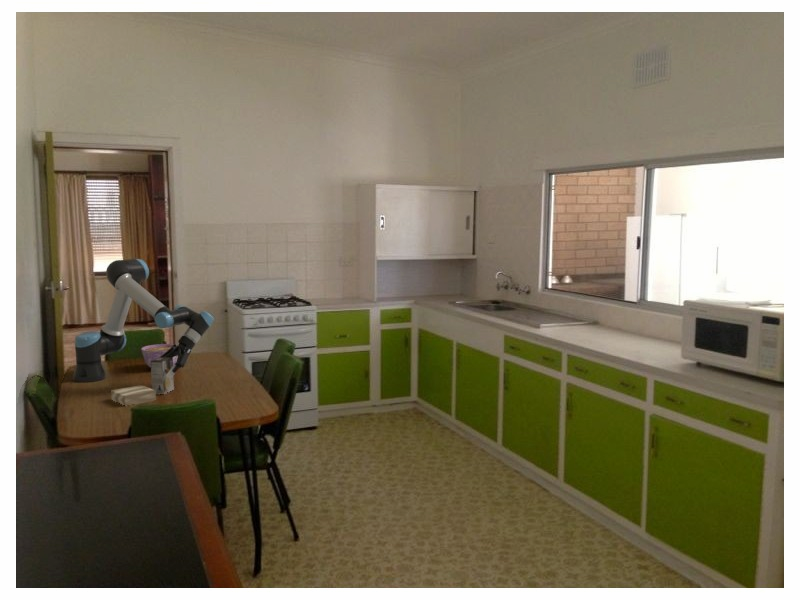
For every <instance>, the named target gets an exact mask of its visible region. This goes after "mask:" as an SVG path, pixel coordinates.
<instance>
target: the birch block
mask: <svg viewBox="0 0 800 600" xmlns="http://www.w3.org/2000/svg"><path fill="white" fill-rule="evenodd" d="M110 396H111V398H110V399H111V401H112V400H113V401H112V402H114V401H115V402H114V403H116V402H118V403H117V404H119V403H120V404H119V405H121V404H122V405H121V406H123V405H125V406H126V407H128V406H127V405H130V406H133V405H132V404H135V405H139V404H143V403H144V404H145V403H149V402H154V400H155V401H156V400H157V397H156V396H157V394H155V390H153V389H152V387H151V388H150V387H148V386H145V385H142V384H139V385H133V386H128V387H127V386H126V387H122V388H115V389H111V390H110ZM125 406H124V407H125Z"/></svg>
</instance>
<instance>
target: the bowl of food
mask: <svg viewBox="0 0 800 600" xmlns="http://www.w3.org/2000/svg"><path fill="white" fill-rule="evenodd" d="M174 344H175V343H174ZM174 344H173V343H161V344H160V343H158V344H151V345H145V346H143V347H141V349H140V350H141V353H142V356H143V360H144V362H145V364H146V365H147V366H148V367H149V368H151V361H152V360H154V359H157V358H160V356H162V355H163V354H164V353H165V352H167V351H168V350H169V349H170V348H171V347H172V346H173V345H174ZM176 345H177V346H178V345H179V344H176ZM177 358H178V356H174V357H173V366H174V365H175V363H176V362H177Z"/></svg>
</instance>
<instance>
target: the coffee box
mask: <svg viewBox="0 0 800 600" xmlns="http://www.w3.org/2000/svg"><path fill="white" fill-rule="evenodd" d="M173 366H174V365H173V357H160V358H157V359H154V360H152V361H151V367H150V375H151V377H150V378H151V389H153V390H155V394H156V395H160V394H164V395H166V394H168V393H170V391H171V392H172V390H173V391H174V390H175V382H174V381H175V380H174V377H175V376H174V375H173V376H172V378H171V379H169V378H168V377H166V374H167V373H168V372H169V371H170V369H171V368H172V367H173ZM167 392H168V393H167Z"/></svg>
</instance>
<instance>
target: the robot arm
mask: <svg viewBox="0 0 800 600" xmlns="http://www.w3.org/2000/svg"><path fill="white" fill-rule="evenodd" d="M149 269H150V268H149V267H148V264H147V262H145V261H144V260H143V259H141V258H130V259H116V260H114V261H112V262H111V263H109V264H108V265H107V267H106V269H105V270H106V271H105V275H106V279H107V281H108V282H109V283H110V284H111V286H113V287H114V288H115V289H116V290H115V294H114V297H113V300H112V303H111V306H110V310H109V312H108V316H107V319H106V322H105V324H103V325H102V326H100V331H94V330H93V331H85V332H82V333H80V334H79V333H78V334H77V335H76V336H75V339H74V348H75V349H74V350H75V363H76V364H75V368H74V371H73V375H72V380H73V381H74V382H76V383H77V382H78V383H92V382H98V381H102V380H105V379H106V378H107V374H106V373H107V372H106V370H105V368H104V365H103V364H102V356H105V355H110V354H114V353H115V354H116V353H117V352H120V351H121V350H123V349H124V347H125V346H126V344H127V336H126V334H125V333H126V332H125V330H124V325H125V323H126V320H127V316H128V315H129V311H130V306H131V305H132V302H133V301H134V302H135V303H136V304H137V305H138V306H139V307H141V308H142V309H143V310H144V311H145V312H147V314H149V315H150V316H152V317H153V318H154V323H155V325H156V327H158V328H159V329H167V328H172V327H175V326H180V325H186V326H188V328H187V329H186V330H185V332H184V333H183V335H182V336H180V337H179V339H178V341H177V342H178V344H176V343H174V345H173V346H172V347H171V348H170V349H169V350H168V351H167V352H165V353H164V354H163V355H162V356H160V357H174V356H178V358H177V362H176V363H175V365H173V367H172V368H171V369H170V371H169V372H168V373H167V374H166V377H168V378H169V379H171V378H172V376H173V377H174V375H175V374H176V373H177V371H178V370H179V369H181V368H184V367H185V365H186V363H187V360H188V358H189V356H190V354H191V353H192V350H193V348H194V347H195V346H196V344H197V343H198V342H199V341H200V340H201V338H202V336H203V335H204V334H205V333H207V331H208V329H209V328H210V327H211V325H212V324H213V323H214V320H215V318H214V316H212V315H211V314H210V313H209V312H207V311H205V310H202V311H201V312H200V313H198V312H196V311H194V310H192V309H191V308H190V307H187V306H185V305H184V304H183V305H182V304H178V305H177V306H175V307H174V309H173V310H170V309H169V308H168V307H167V306H166V305H164V304H163V303H162V302H161V301H160V300H158V299H157V298H156V297H155V296H154V295H153V294H151V293H150V292H149V291H148V290H147V289H146V288H144V287H143V286H142V285H141V284H142V282H144V281H146V280H148V278H149V275H150V270H149ZM177 345H178V346H177Z"/></svg>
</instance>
